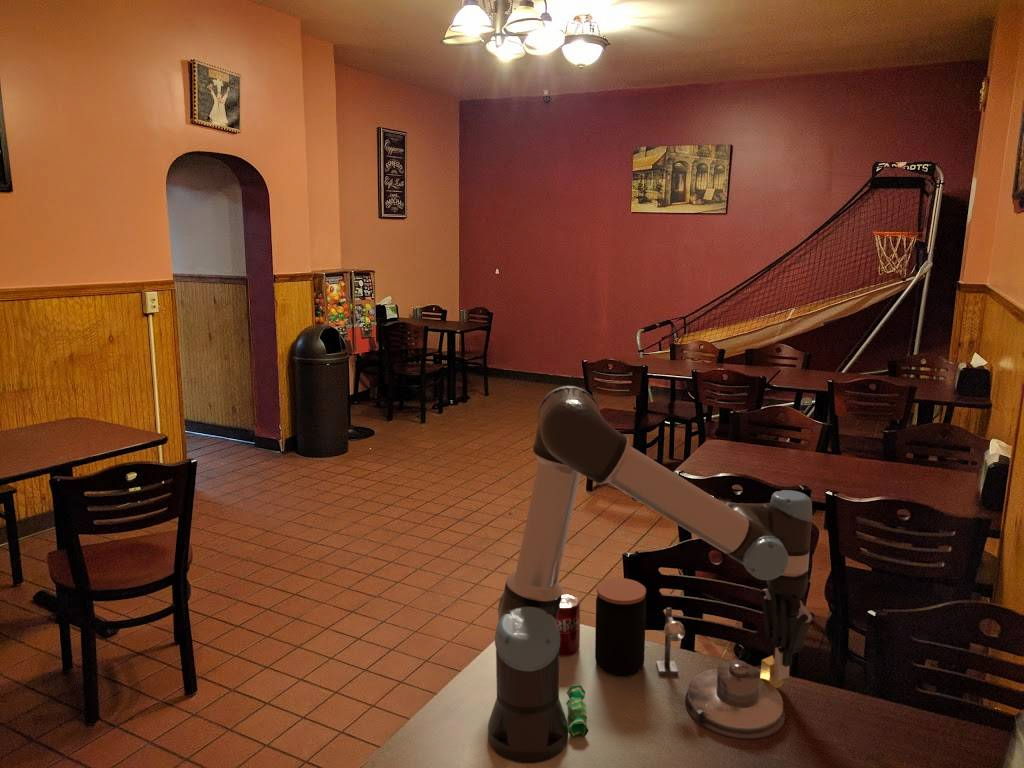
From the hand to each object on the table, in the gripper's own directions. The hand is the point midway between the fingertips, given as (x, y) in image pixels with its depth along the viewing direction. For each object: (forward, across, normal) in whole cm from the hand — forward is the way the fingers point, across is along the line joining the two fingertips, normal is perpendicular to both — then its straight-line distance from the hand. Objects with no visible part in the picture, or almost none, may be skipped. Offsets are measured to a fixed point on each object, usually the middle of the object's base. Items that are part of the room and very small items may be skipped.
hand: (781, 677), depth 150 cm
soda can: (+4, +34, +32) cm, 47 cm away
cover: (+1, 0, +11) cm, 11 cm away
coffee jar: (+4, +23, +24) cm, 34 cm away
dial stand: (+4, +15, +17) cm, 23 cm away
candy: (+4, +11, +41) cm, 43 cm away
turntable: (+3, +1, +10) cm, 11 cm away
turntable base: (+4, 0, +12) cm, 12 cm away
